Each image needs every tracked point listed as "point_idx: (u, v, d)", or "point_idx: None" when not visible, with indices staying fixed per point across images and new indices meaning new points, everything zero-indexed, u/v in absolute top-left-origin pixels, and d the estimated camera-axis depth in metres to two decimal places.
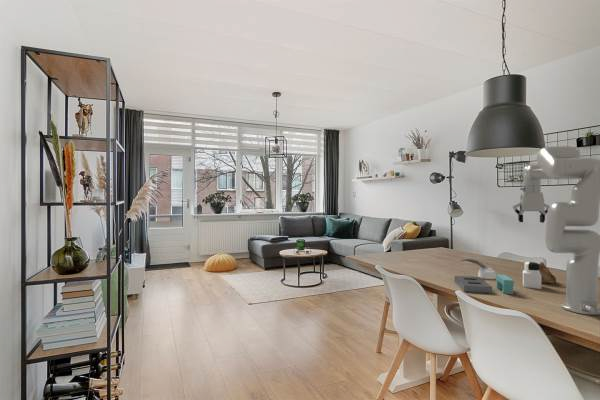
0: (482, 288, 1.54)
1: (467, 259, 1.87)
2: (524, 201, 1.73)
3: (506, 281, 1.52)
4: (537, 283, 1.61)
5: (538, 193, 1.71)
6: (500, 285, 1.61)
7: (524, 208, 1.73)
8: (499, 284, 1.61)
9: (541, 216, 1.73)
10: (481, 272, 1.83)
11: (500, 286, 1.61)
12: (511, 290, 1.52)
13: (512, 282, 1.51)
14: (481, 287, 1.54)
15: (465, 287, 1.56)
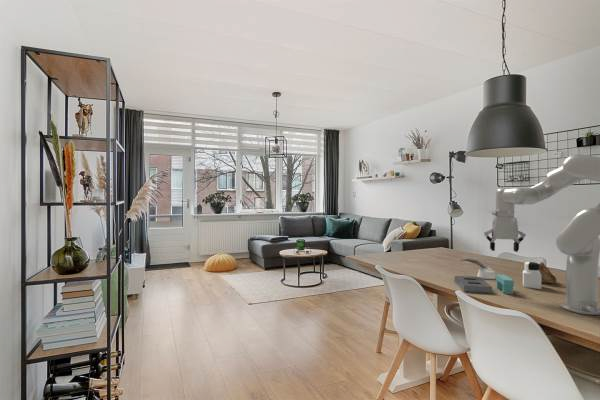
0: (482, 288, 1.54)
1: (466, 259, 1.87)
2: (496, 228, 1.56)
3: (506, 281, 1.52)
4: (537, 283, 1.61)
5: (511, 219, 1.54)
6: (500, 285, 1.61)
7: (496, 235, 1.56)
8: (499, 284, 1.61)
9: (515, 244, 1.56)
10: (480, 272, 1.83)
11: (500, 286, 1.61)
12: (511, 290, 1.52)
13: (512, 282, 1.51)
14: (481, 287, 1.54)
15: (465, 287, 1.56)
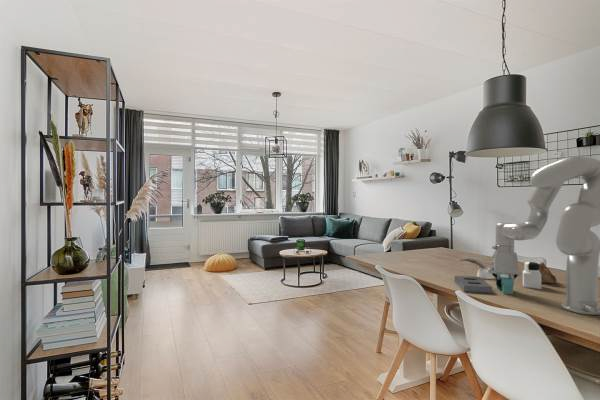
0: (482, 288, 1.54)
1: (466, 259, 1.87)
2: (496, 262, 1.56)
3: (506, 281, 1.52)
4: (537, 283, 1.61)
5: (511, 254, 1.54)
6: None
7: (496, 270, 1.56)
8: None
9: None
10: (480, 272, 1.83)
11: None
12: (511, 290, 1.52)
13: (512, 282, 1.52)
14: (481, 287, 1.54)
15: (465, 287, 1.56)
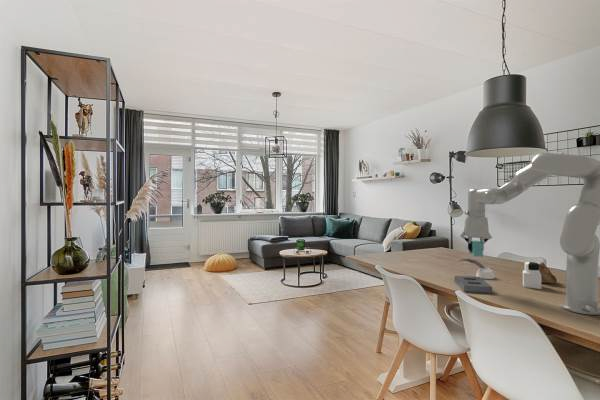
0: (482, 288, 1.54)
1: (465, 259, 1.87)
2: (467, 226, 1.62)
3: (476, 244, 1.58)
4: (537, 283, 1.61)
5: (482, 218, 1.60)
6: (472, 249, 1.67)
7: (467, 234, 1.62)
8: None
9: None
10: (479, 272, 1.83)
11: (472, 250, 1.67)
12: (481, 253, 1.59)
13: (482, 245, 1.58)
14: (481, 287, 1.54)
15: (465, 287, 1.56)
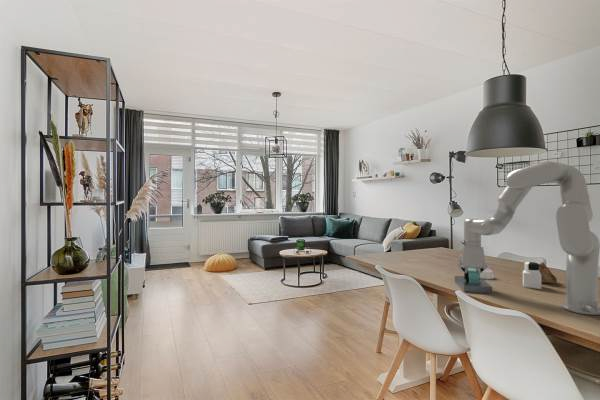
0: (482, 288, 1.54)
1: None
2: (464, 256, 1.63)
3: (472, 274, 1.59)
4: (537, 283, 1.61)
5: (478, 248, 1.61)
6: None
7: (464, 264, 1.63)
8: None
9: None
10: None
11: None
12: (477, 283, 1.59)
13: (478, 275, 1.59)
14: (481, 287, 1.54)
15: (465, 287, 1.56)
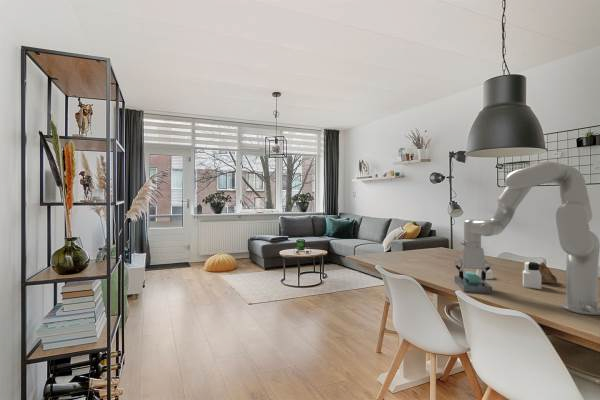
0: (482, 288, 1.54)
1: None
2: (464, 257, 1.63)
3: (472, 277, 1.59)
4: (537, 283, 1.61)
5: (478, 249, 1.61)
6: None
7: (464, 265, 1.62)
8: None
9: (482, 273, 1.63)
10: (478, 272, 1.84)
11: None
12: None
13: (477, 278, 1.59)
14: (481, 287, 1.54)
15: (465, 287, 1.56)
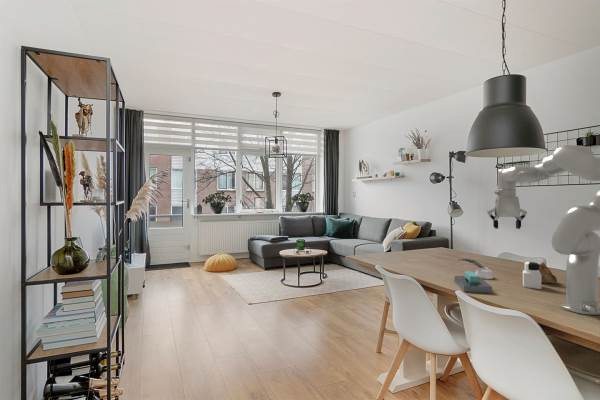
0: (482, 288, 1.54)
1: (464, 259, 1.88)
2: (499, 206, 1.62)
3: (472, 277, 1.59)
4: (537, 283, 1.61)
5: (513, 197, 1.60)
6: None
7: (499, 213, 1.62)
8: None
9: (517, 222, 1.62)
10: (478, 272, 1.84)
11: None
12: None
13: (477, 278, 1.59)
14: (481, 287, 1.54)
15: (465, 287, 1.56)
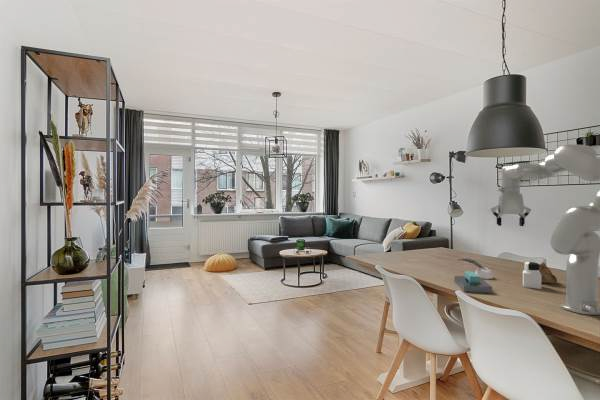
0: (482, 288, 1.54)
1: (464, 259, 1.88)
2: (502, 203, 1.62)
3: (472, 277, 1.59)
4: (537, 283, 1.61)
5: (517, 195, 1.60)
6: None
7: (502, 211, 1.62)
8: None
9: (520, 219, 1.62)
10: (477, 272, 1.84)
11: None
12: None
13: (477, 278, 1.59)
14: (481, 287, 1.54)
15: (465, 287, 1.56)
